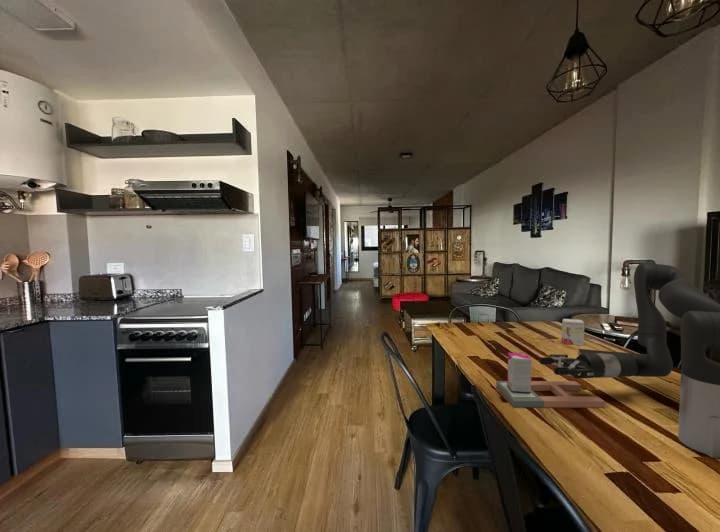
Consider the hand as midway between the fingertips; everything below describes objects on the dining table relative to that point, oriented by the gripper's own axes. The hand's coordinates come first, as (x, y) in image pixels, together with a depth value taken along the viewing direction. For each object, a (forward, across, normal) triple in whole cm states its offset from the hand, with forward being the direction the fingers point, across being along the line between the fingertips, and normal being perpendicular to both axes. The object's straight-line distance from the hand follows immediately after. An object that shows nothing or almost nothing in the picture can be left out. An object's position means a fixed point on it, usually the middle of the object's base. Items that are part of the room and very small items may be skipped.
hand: (546, 365), depth 102 cm
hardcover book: (-45, -30, +11) cm, 55 cm away
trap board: (0, 0, +10) cm, 10 cm away
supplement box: (+9, 0, +8) cm, 12 cm away
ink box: (-42, -54, +10) cm, 69 cm away
